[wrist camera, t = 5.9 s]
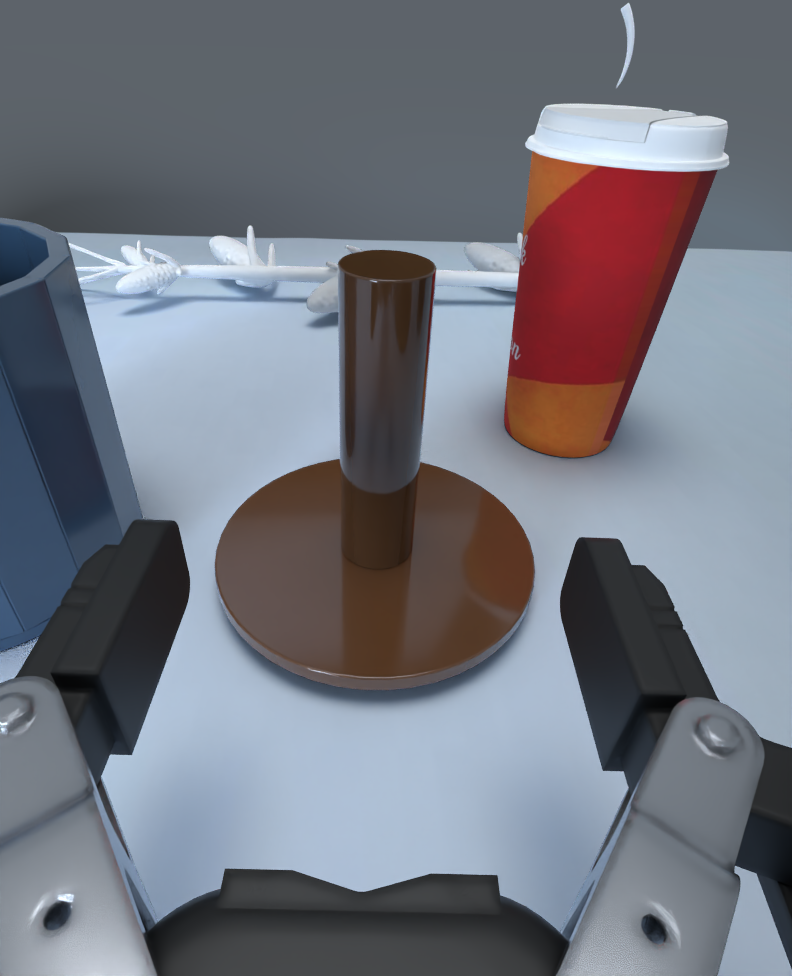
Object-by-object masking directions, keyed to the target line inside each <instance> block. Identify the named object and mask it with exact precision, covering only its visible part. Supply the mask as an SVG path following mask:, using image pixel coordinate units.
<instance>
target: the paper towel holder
mask: <svg viewBox="0 0 792 976" xmlns="http://www.w3.org/2000/svg"><path fill="white" fill-rule="evenodd" d="M436 271H437V269H436V266H435V264H434V263H433V262H432V261H430V260H429V259H427V258H424V257H422V256H419V255H416V254H412V253H407V252H401V251H392V250H370V251H362V252H356V253H352V254H349V255H347V256H345V257H343V258H342V259H340V261H339V263H338V325H339V414H340V459H336V460H331V461H326V462H321V463H317V464H314V465H310V466H307V467H303V468H301V469H298V470H295V471H293V472H290V473H288V474H286V475H284V476H282V477H280V478H277V479H275V480H273V481H272V482H270V483H269V484H267V485H265V486H264V487H262V488H261V489H259V490H258V491H257V492H255V493H254V494H253V495H252V496H250V497H249V498H248V499H247V500H246V501H245V502H244V503H243V504H242V505H241V506H240V507H239V508H238V509H237V510H236V512H235V513H234V514H233V516H232V517H231V518H230V520H229V521H228V523H227V525H226V527H225V529H224V531H223V533H222V534H221V537H220V540H219V543H218V547H217V550H216V558H215V577H216V584H217V589H218V593H219V597H220V600H221V604H222V606H223V608H224V610H225V613H226V615H227V617H228V619H229V621H230V622H231V623H232V625H233V626H234V628H235V629H236V630H237V632H238V633H239V634H240V635H241V636H242V637H243V638H244V639H245V640H246V641H247V642H248V643H249V644H250V645H251V646H252V647H253V648H254V649H255V650H256V651H257V652H259V653H260V654H261V655H263V656H264V657H266V658H267V659H268V660H270V661H271V662H273V663H275V664H276V665H278V666H280V667H282V668H284V669H286V670H288V671H289V672H291V673H294V674H297V675H299V676H302V677H304V678H307V679H310V680H312V681H316V682H320V683H324V684H328V685H332V686H336V687H342V688H350V689H357V690H396V689H406V688H414V687H418V686H423V685H427V684H432V683H436V682H439V681H442V680H445V679H448V678H450V677H453V676H456V675H458V674H460V673H462V672H464V671H466V670H468V669H470V668H472V667H474V666H476V665H478V664H479V663H481V662H482V661H484V660H485V659H486V658H488V657H489V656H491V655H492V654H494V653H495V652H496V651H497V650H498V649H499V648H500V647H501V646H502V645H503V644H504V643H505V642H506V641H508V640H509V638H510V637H511V636H512V634H513V633H514V632H515V630H516V629H517V628H518V626H519V625H520V623H521V621H522V619H523V617H524V615H525V613H526V611H527V608H528V605H529V601H530V598H531V594H532V591H533V587H534V577H535V566H534V557H533V553H532V550H531V546H530V542H529V540H528V538H527V536H526V534H525V532H524V530H523V528H522V526H521V525H520V523H519V522H518V520H517V519H516V518H515V516H514V515H513V514H512V513H511V512H510V511H509V509H508V508H507V507H506V506H505V505H504V504H503V503H502V502H500V501H499V500H498V499H497V498H496V497H495V496H494V495H492V494H491V493H489V492H488V491H487V490H485V489H484V488H482V487H481V486H479V485H477V484H476V483H474V482H472V481H470V480H469V479H467V478H465V477H462V476H460V475H458V474H456V473H453V472H451V471H448V470H445V469H443V468H440V467H437V466H433V465H429V464H426V463H422V462H420V456H421V445H422V433H423V421H424V410H425V398H426V387H427V375H428V363H429V352H430V340H431V329H432V317H433V305H434V294H435V282H436Z"/></svg>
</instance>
